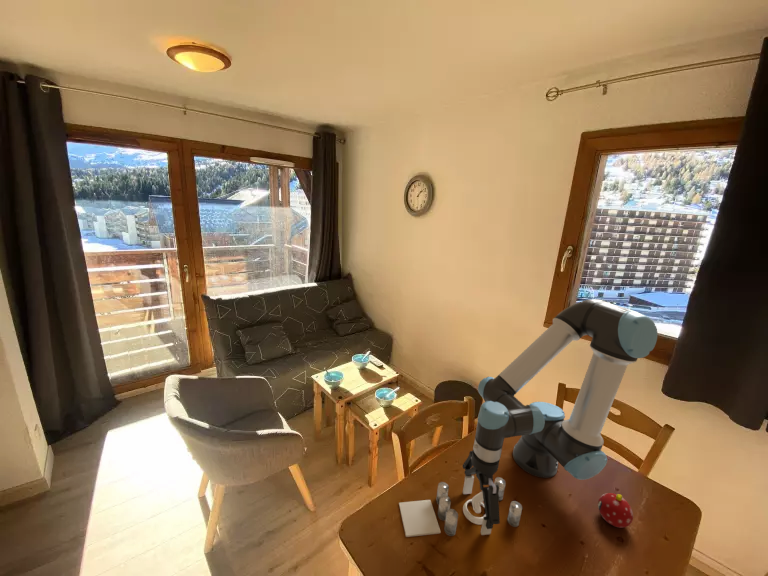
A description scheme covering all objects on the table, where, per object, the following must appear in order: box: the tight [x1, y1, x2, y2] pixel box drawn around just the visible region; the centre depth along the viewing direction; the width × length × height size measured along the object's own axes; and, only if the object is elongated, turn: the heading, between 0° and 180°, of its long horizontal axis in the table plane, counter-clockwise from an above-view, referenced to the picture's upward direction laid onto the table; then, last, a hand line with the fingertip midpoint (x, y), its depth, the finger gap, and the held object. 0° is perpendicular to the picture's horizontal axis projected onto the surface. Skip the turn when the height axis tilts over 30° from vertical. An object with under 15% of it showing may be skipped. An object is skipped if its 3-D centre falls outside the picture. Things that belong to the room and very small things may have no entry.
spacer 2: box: [437, 495, 452, 522], centre depth 94 cm, size 3×3×6 cm
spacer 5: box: [506, 500, 523, 528], centre depth 94 cm, size 3×3×6 cm
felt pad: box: [398, 499, 441, 538], centre depth 94 cm, size 10×10×1 cm
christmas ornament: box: [597, 492, 634, 529], centre depth 95 cm, size 9×9×10 cm
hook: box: [462, 491, 486, 526], centre depth 95 cm, size 8×12×7 cm
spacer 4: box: [493, 476, 507, 502], centre depth 102 cm, size 3×3×6 cm
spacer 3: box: [444, 508, 459, 537], centre depth 90 cm, size 3×3×6 cm
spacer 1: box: [435, 481, 449, 506], centre depth 99 cm, size 3×3×6 cm
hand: (475, 511), depth 97 cm, fingers open, 12 cm apart
